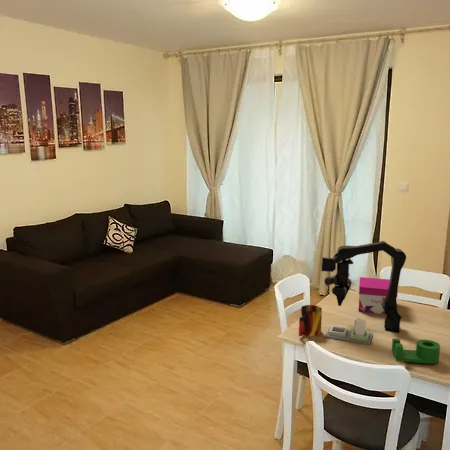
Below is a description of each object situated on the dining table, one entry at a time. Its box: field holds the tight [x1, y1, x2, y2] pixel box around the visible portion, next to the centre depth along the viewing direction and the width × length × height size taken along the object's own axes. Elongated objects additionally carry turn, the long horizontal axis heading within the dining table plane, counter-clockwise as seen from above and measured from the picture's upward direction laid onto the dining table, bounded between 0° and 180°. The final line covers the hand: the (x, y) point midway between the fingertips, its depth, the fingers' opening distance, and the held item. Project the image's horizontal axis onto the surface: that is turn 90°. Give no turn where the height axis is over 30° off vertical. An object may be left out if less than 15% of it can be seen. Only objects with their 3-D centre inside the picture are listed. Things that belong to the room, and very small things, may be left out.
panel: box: [324, 325, 374, 346], centre depth 213 cm, size 20×12×2 cm, turn 66°
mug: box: [298, 304, 323, 337], centre depth 215 cm, size 10×14×12 cm
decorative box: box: [358, 276, 399, 316], centre depth 246 cm, size 19×19×15 cm
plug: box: [354, 317, 367, 336], centre depth 210 cm, size 5×4×8 cm
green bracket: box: [391, 338, 441, 364], centre depth 191 cm, size 18×9×6 cm, turn 81°
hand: (341, 302), depth 223 cm, fingers open, 9 cm apart
